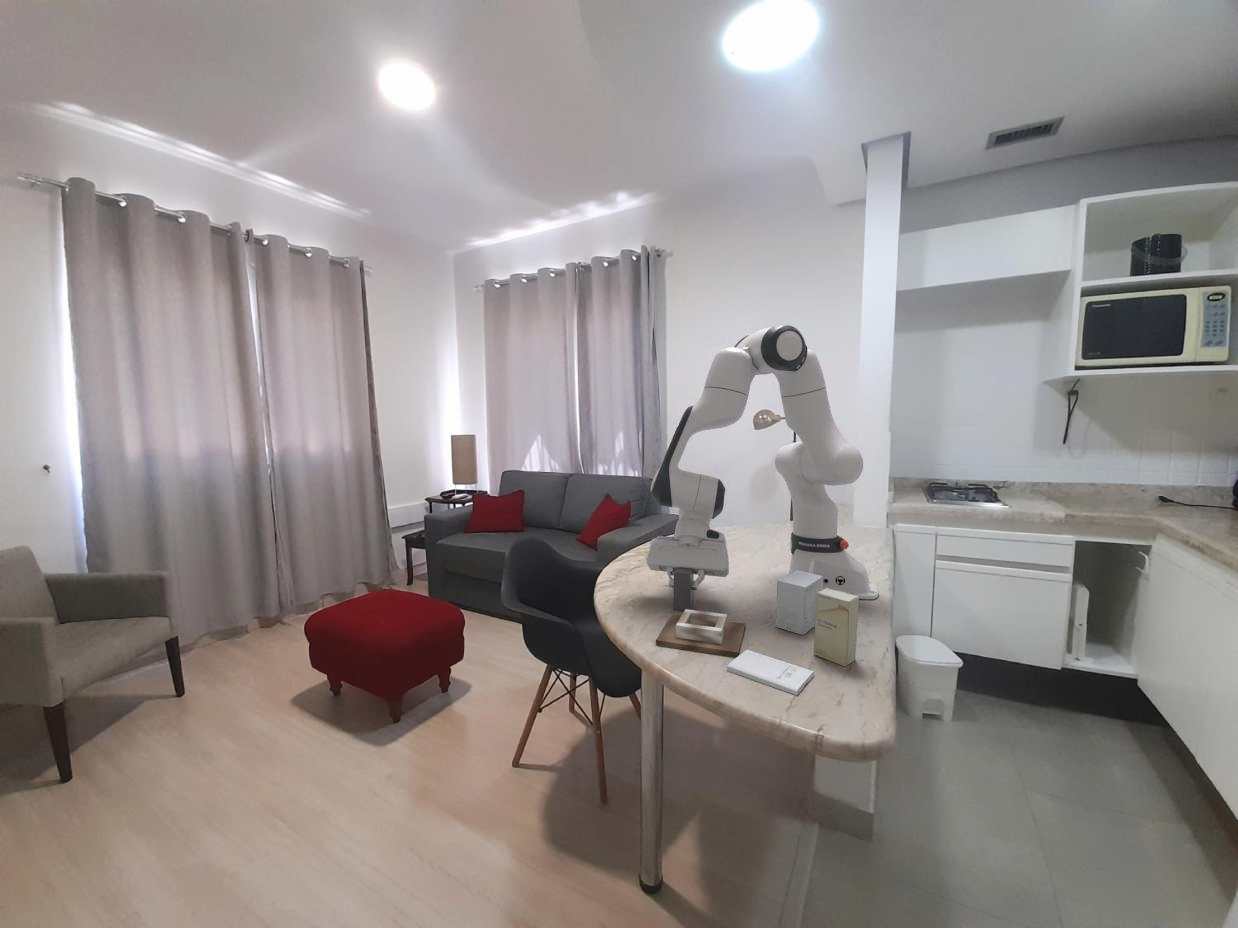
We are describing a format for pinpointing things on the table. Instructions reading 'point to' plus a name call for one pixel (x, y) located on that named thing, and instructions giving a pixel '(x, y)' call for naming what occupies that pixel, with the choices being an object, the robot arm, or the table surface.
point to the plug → (683, 589)
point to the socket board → (703, 633)
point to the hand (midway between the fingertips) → (683, 588)
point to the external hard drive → (771, 671)
